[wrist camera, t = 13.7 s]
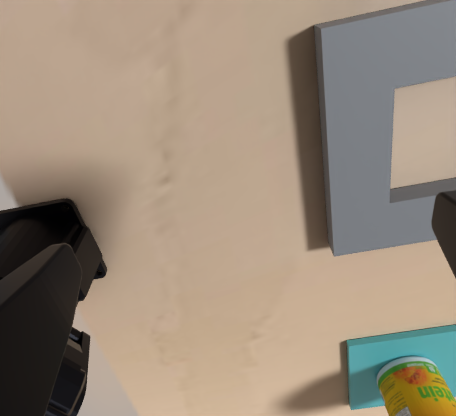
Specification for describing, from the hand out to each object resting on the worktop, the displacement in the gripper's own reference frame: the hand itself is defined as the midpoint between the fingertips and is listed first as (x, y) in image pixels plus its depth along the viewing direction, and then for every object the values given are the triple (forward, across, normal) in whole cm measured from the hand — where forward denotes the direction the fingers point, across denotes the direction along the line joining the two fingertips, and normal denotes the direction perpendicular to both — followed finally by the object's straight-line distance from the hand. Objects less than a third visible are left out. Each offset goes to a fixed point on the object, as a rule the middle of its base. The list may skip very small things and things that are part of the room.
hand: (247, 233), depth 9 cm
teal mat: (+13, -12, +27) cm, 32 cm away
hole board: (+13, -12, +4) cm, 18 cm away
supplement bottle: (+13, -12, +27) cm, 32 cm away
